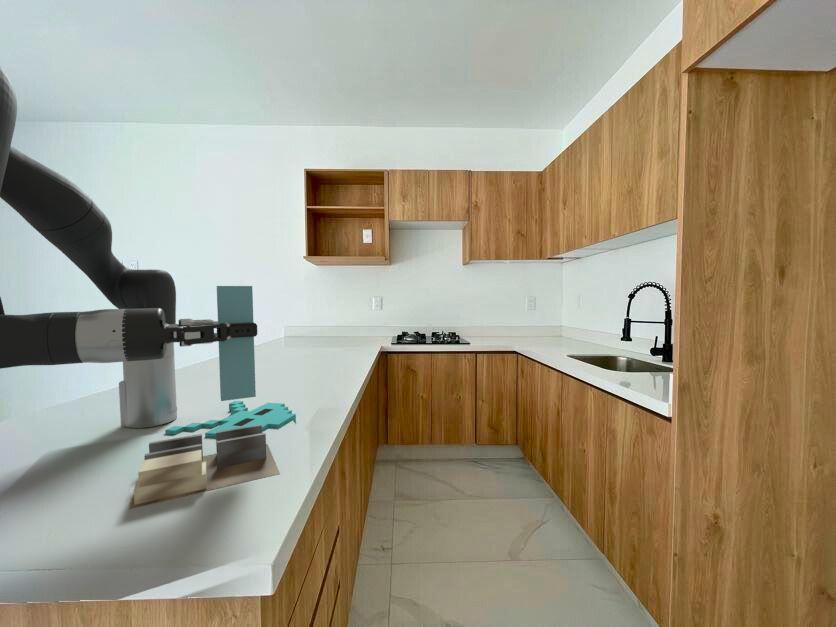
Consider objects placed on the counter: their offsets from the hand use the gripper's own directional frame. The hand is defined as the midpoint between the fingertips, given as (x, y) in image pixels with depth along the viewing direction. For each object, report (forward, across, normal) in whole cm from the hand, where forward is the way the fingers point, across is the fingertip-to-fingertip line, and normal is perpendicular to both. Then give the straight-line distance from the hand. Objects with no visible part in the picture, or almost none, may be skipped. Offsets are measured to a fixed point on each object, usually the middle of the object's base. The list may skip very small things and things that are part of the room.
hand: (255, 328), depth 62 cm
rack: (-7, -3, +22) cm, 23 cm away
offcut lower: (-12, -6, +21) cm, 25 cm away
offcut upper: (-12, -6, +19) cm, 23 cm away
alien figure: (-1, +20, +23) cm, 30 cm away
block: (-3, 0, +11) cm, 11 cm away
